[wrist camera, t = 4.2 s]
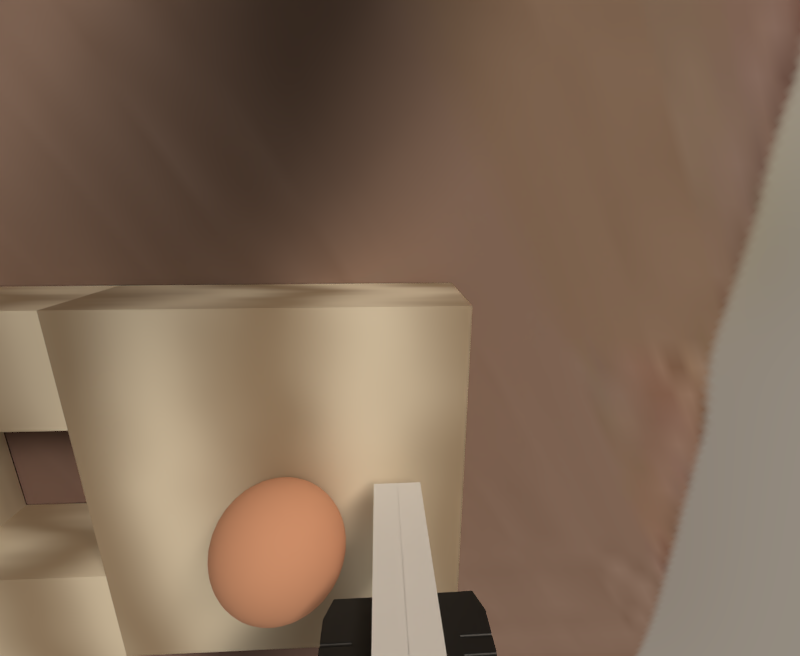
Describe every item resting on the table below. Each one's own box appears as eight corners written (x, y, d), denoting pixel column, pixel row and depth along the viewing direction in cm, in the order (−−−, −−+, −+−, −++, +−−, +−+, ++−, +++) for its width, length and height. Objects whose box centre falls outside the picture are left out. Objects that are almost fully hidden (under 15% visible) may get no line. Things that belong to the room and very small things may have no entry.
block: (-18, 576, 20) (-115, 667, 16) (-125, 287, 16) (-291, 314, 12) (441, 559, 20) (455, 640, 17) (451, 282, 16) (472, 306, 13)
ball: (241, 548, 15) (193, 668, 11) (228, 453, 14) (170, 548, 10) (352, 545, 15) (342, 661, 11) (348, 450, 14) (336, 542, 10)
